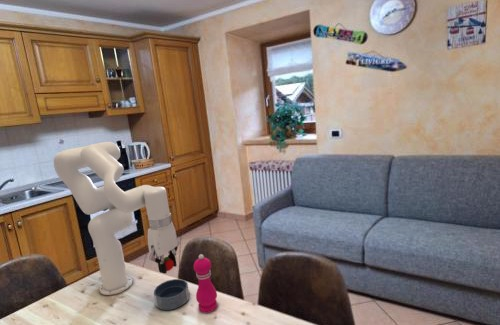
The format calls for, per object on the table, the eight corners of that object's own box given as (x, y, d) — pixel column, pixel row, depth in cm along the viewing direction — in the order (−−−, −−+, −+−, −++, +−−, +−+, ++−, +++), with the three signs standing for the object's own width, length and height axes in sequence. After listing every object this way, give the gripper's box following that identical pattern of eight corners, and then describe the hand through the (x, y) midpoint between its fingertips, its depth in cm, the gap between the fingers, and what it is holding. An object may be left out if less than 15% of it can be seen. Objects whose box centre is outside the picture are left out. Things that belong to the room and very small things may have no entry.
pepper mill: (214, 314, 107) (207, 259, 103) (194, 313, 108) (186, 259, 104) (220, 300, 114) (214, 249, 110) (202, 300, 115) (194, 249, 111)
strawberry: (159, 272, 114) (157, 259, 113) (168, 266, 117) (166, 254, 117) (168, 274, 111) (166, 261, 111) (177, 268, 115) (175, 256, 114)
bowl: (148, 306, 115) (146, 293, 114) (172, 288, 125) (170, 276, 124) (173, 314, 109) (171, 301, 108) (196, 294, 119) (194, 282, 118)
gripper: (169, 212, 120) (176, 256, 123) (133, 230, 106) (142, 279, 109) (184, 214, 116) (191, 259, 119) (149, 232, 102) (158, 283, 105)
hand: (168, 268), depth 114 cm, fingers closed on strawberry, 4 cm apart
